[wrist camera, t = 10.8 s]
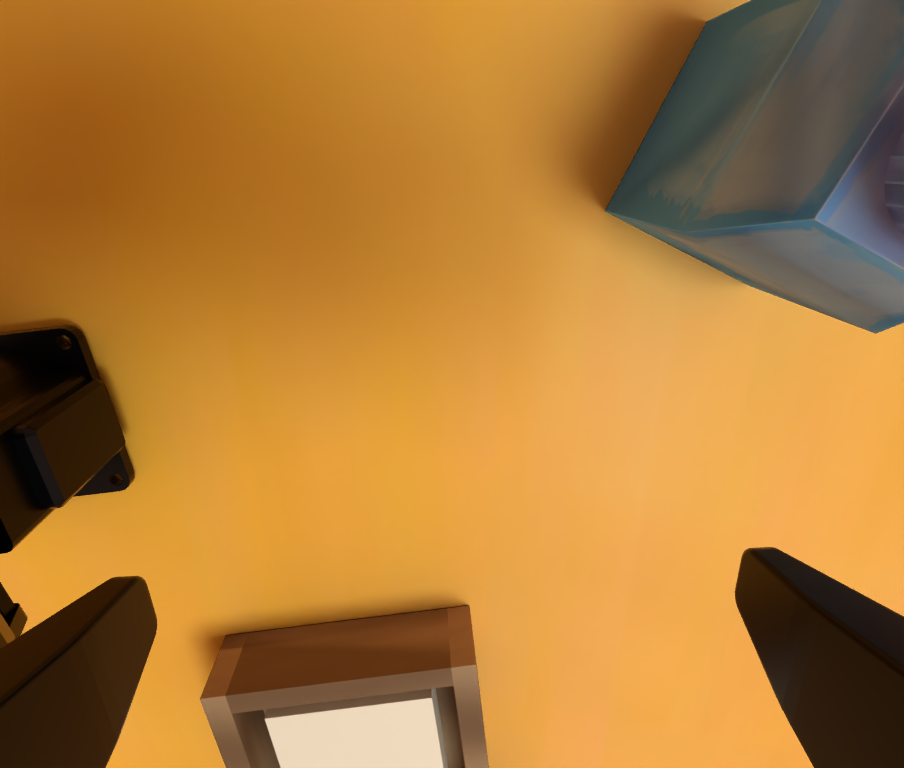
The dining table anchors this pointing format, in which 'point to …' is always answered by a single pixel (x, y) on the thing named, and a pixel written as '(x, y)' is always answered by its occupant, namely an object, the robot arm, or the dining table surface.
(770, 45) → the perfume bottle
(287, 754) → the napkin stack
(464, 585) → the dining table surface
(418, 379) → the dining table surface
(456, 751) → the rack
